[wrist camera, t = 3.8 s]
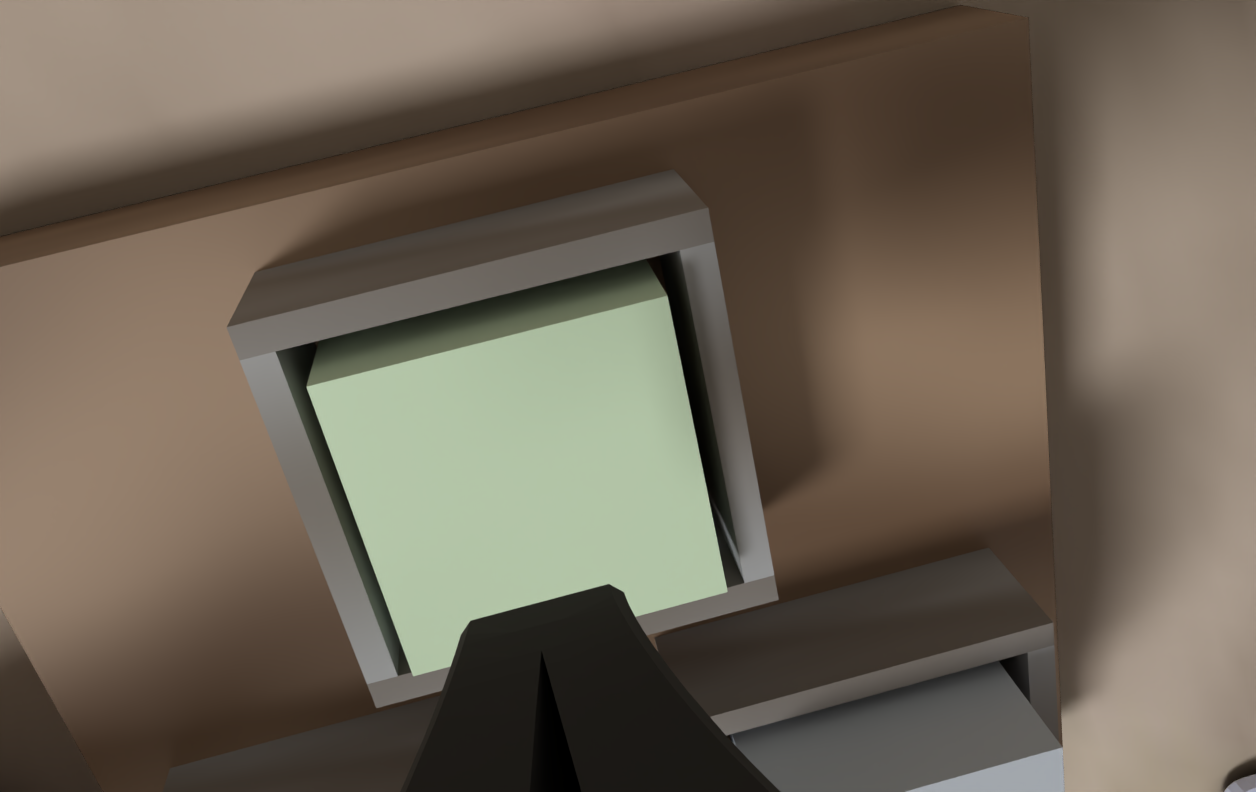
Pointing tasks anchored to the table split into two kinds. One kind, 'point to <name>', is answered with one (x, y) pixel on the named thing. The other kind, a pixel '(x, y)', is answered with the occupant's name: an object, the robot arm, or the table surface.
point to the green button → (520, 455)
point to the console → (515, 260)
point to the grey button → (915, 741)
